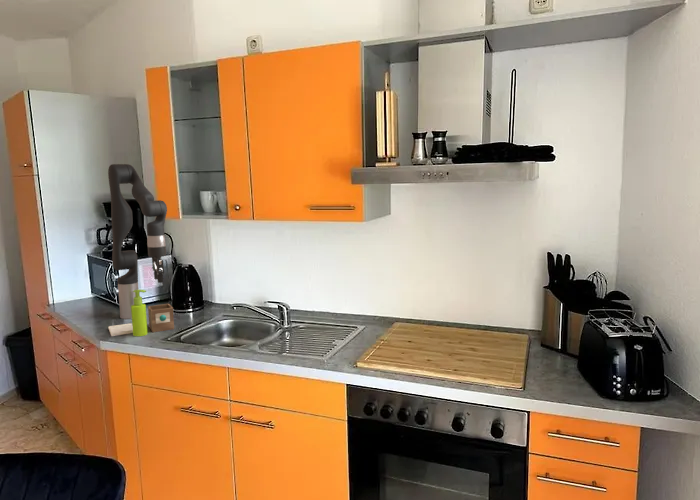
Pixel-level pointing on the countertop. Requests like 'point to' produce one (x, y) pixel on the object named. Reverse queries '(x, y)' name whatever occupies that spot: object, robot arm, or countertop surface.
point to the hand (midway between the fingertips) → (158, 280)
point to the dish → (120, 329)
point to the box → (161, 317)
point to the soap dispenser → (139, 315)
